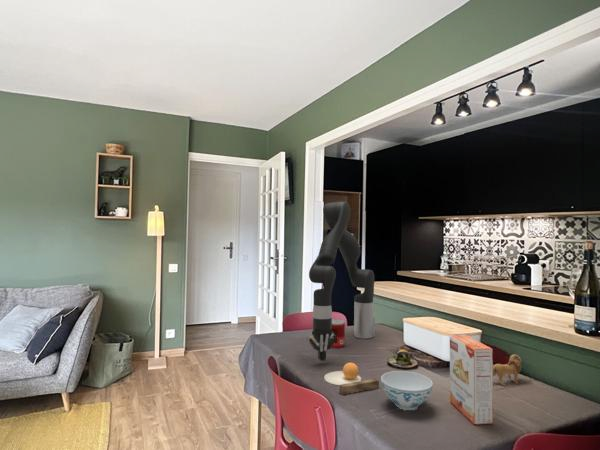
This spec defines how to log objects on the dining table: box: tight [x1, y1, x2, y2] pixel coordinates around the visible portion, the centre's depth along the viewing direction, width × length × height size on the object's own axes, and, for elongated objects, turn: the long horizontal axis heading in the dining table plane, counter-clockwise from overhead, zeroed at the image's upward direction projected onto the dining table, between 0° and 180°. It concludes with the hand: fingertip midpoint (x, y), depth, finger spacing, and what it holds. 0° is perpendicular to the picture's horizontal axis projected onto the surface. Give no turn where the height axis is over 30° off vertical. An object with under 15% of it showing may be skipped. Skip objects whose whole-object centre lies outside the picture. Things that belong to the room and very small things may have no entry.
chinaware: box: [380, 370, 433, 411], centre depth 116 cm, size 15×15×8 cm
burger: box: [386, 348, 419, 369], centre depth 151 cm, size 12×12×8 cm
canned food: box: [329, 319, 346, 349], centre depth 176 cm, size 8×8×11 cm
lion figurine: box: [493, 354, 523, 387], centre depth 134 cm, size 15×5×9 cm, turn 116°
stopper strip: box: [338, 378, 380, 396], centre depth 127 cm, size 14×2×2 cm, turn 114°
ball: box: [342, 362, 360, 379], centre depth 136 cm, size 6×6×6 cm
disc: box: [324, 370, 362, 386], centre depth 137 cm, size 13×13×1 cm
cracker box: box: [449, 334, 494, 425], centre depth 111 cm, size 14×6×21 cm, turn 5°
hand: (322, 360), depth 151 cm, fingers closed
